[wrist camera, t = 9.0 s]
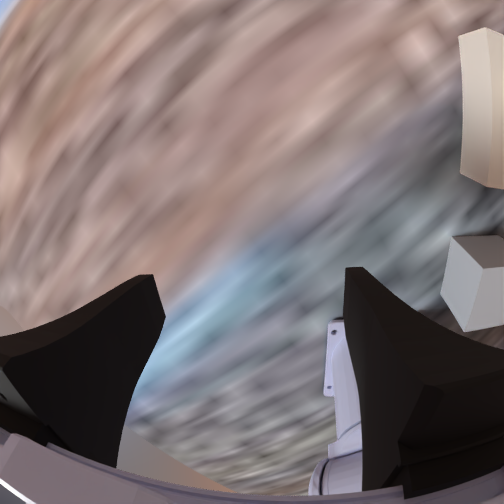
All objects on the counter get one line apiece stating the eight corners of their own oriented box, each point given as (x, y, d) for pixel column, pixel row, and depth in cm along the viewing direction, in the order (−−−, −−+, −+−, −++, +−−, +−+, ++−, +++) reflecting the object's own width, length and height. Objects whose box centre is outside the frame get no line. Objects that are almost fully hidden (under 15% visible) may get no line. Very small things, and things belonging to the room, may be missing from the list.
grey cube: (485, 288, 20) (512, 322, 16) (440, 293, 21) (464, 332, 17) (498, 234, 18) (532, 263, 14) (450, 236, 19) (483, 268, 15)
